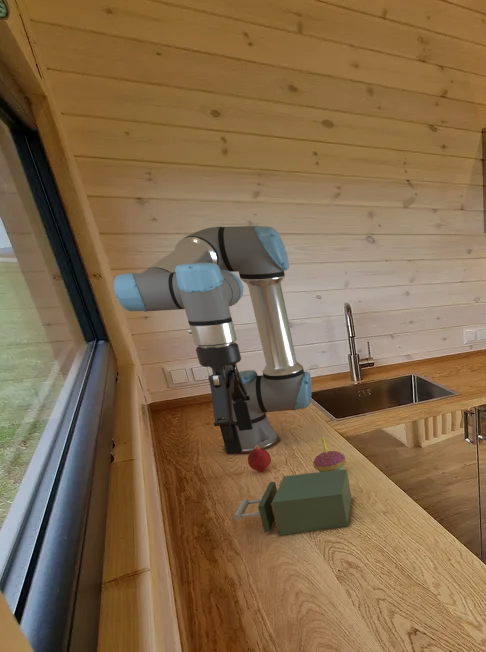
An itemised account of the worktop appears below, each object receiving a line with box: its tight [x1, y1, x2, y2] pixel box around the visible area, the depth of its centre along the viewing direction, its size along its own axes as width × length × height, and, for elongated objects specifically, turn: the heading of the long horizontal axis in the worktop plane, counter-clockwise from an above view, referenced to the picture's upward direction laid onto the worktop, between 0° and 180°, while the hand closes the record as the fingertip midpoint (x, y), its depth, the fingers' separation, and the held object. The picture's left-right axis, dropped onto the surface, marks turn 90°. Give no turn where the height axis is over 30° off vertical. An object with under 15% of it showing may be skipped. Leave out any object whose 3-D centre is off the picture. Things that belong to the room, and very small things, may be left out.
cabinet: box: [272, 469, 353, 536], centre depth 115 cm, size 15×13×9 cm
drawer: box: [232, 481, 281, 533], centre depth 114 cm, size 20×11×7 cm, turn 103°
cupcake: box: [313, 435, 347, 472], centre depth 133 cm, size 9×8×12 cm
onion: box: [247, 445, 272, 473], centre depth 138 cm, size 6×6×8 cm
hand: (240, 440), depth 106 cm, fingers open, 13 cm apart
